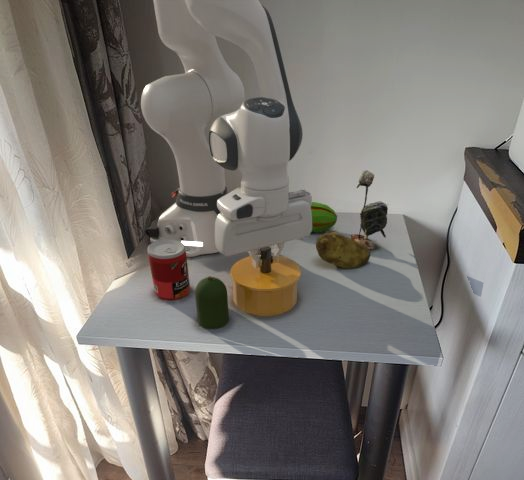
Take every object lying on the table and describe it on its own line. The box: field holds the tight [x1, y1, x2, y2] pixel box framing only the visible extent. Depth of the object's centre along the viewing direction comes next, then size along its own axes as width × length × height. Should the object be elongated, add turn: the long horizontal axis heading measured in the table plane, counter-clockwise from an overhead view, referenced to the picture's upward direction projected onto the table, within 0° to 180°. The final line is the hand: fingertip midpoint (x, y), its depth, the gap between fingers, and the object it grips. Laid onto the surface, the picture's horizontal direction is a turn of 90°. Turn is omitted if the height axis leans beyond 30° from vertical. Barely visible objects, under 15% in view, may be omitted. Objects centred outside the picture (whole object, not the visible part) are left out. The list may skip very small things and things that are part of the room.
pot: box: [231, 279, 299, 317], centre depth 99 cm, size 14×14×6 cm
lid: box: [229, 246, 302, 292], centre depth 95 cm, size 15×15×6 cm
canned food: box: [147, 240, 191, 301], centre depth 100 cm, size 8×8×11 cm
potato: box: [315, 231, 371, 269], centre depth 110 cm, size 8×13×8 cm, turn 74°
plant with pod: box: [348, 169, 389, 250], centre depth 114 cm, size 8×11×20 cm
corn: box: [311, 201, 338, 233], centre depth 127 cm, size 7×8×20 cm
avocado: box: [194, 275, 230, 330], centre depth 91 cm, size 6×6×10 cm
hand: (265, 264), depth 95 cm, fingers closed on lid, 2 cm apart
